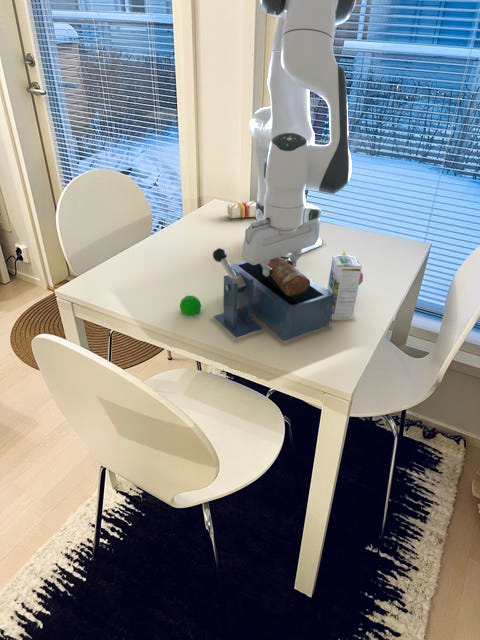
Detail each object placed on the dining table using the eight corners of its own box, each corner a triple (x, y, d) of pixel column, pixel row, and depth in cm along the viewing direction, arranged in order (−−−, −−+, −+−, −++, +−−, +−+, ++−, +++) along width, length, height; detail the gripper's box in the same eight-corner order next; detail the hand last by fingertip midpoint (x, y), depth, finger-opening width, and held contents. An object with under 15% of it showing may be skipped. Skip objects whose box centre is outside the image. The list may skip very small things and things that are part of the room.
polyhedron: (193, 306, 124) (192, 289, 121) (205, 315, 121) (204, 297, 118) (176, 313, 121) (175, 296, 119) (188, 322, 118) (187, 304, 116)
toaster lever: (209, 256, 116) (211, 246, 114) (221, 253, 118) (224, 243, 115) (233, 295, 111) (236, 286, 109) (245, 292, 113) (249, 283, 110)
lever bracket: (213, 320, 119) (213, 272, 112) (238, 312, 122) (239, 264, 115) (236, 341, 112) (237, 291, 105) (261, 332, 115) (264, 283, 108)
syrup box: (323, 308, 125) (330, 255, 117) (347, 307, 125) (355, 254, 117) (329, 321, 120) (336, 266, 112) (353, 320, 120) (362, 265, 113)
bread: (284, 301, 109) (285, 278, 106) (254, 263, 125) (255, 242, 121) (310, 297, 111) (313, 275, 108) (278, 260, 126) (279, 239, 123)
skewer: (231, 221, 171) (232, 207, 168) (226, 215, 176) (226, 201, 173) (288, 215, 177) (289, 201, 174) (280, 209, 182) (281, 195, 179)
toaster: (269, 284, 134) (271, 254, 129) (329, 328, 117) (333, 294, 113) (228, 297, 128) (228, 265, 123) (284, 344, 111) (287, 310, 107)
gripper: (255, 229, 102) (253, 288, 109) (326, 208, 112) (320, 264, 120) (237, 219, 106) (235, 277, 113) (307, 200, 117) (301, 255, 124)
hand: (279, 270), depth 117 cm, fingers closed on bread, 6 cm apart
